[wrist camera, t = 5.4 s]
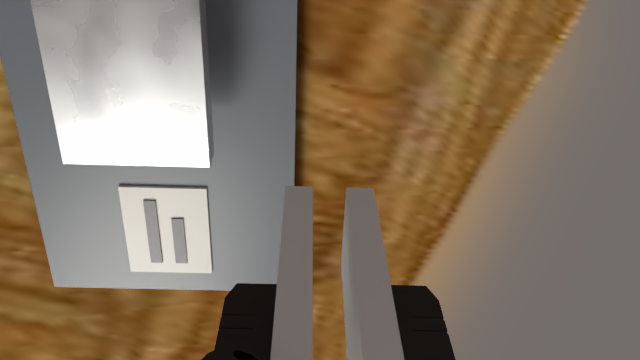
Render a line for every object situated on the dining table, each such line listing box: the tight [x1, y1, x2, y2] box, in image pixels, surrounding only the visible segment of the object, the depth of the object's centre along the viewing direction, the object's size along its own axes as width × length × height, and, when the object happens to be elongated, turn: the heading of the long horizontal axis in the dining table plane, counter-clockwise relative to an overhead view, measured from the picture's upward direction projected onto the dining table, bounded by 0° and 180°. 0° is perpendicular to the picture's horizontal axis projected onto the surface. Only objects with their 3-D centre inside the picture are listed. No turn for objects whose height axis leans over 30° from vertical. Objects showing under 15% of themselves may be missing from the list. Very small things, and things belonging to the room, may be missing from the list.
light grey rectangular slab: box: [30, 0, 214, 168], centre depth 26 cm, size 14×7×4 cm, turn 178°
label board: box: [0, 0, 298, 291], centre depth 31 cm, size 25×15×2 cm, turn 178°
